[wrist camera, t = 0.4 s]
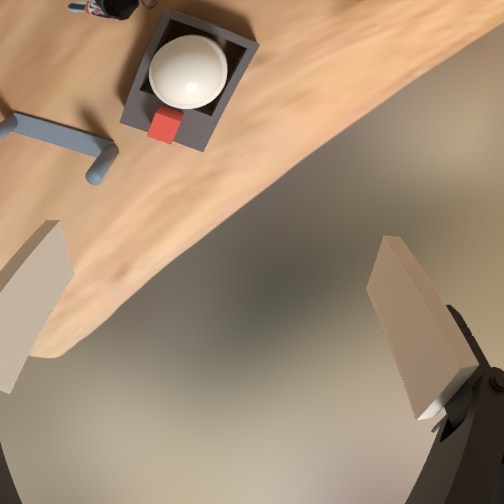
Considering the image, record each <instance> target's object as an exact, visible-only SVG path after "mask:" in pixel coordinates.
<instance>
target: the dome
mask: <svg viewBox="0 0 504 504" xmlns="http://www.w3.org/2000/svg"><path fill="white" fill-rule="evenodd" d="M226 78H227V58H226V55H225V53H224V51H223V49H222V48H221V46H220V45H219V44H218V43H217V42H215V41H214V40H212V39H211V38H209V37H206V36H203V35H197V34H191V35H184V36H181V37H179V38H177V39H174V40H172V41H170V42H168V43H167V44H165V45H164V46H163V47H162V48H160V49H159V50H158V52H157V53H156V54H155V56H154V57H153V59H152V61H151V64H150V69H149V80H150V84H151V87H152V89H153V91H154V93H155V94H156V95H157V97H158V98H159V99H160V100H162V101H163V102H164V103H166V104H168V105H170V106H172V107H176V108H180V109H193V108H198V107H201V106H203V105H206V104H208V103H209V102H211V101H212V100H213V99H215V98H216V97H217V96H218V95H219V93H220V92H221V90H222V89H223V87H224V85H225V82H226Z"/></svg>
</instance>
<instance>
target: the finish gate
mask: <svg viewBox="0 0 504 504" xmlns="http://www.w3.org/2000/svg"><path fill="white" fill-rule="evenodd" d="M11 131H12V132H15V133H19V134H22V135H26V136H29V137H32V138H36V139H39V140H42V141H46V142H49V143H52V144H55V145H59V146H62V147H65V148H68V149H71V150H75V151H78V152H81V153H84V154H87V155H90V156H93V157H96V158H97V159H96V160H95V161H94V163H93V164H92V166H91V167H90V168H89V170H88V171H87V173H86V180H87V181H88V182H89V183H90V184H92V185H98V184H100V183H101V181H102V180H103V178H104V176H105V175H106V173H107V171H108V170H109V168H110V166H111V165H112V163H113V162H114V160H115V158H116V157H117V155H118V153H119V150H118V147H117V146H116V145H114V141H111V140H108V139H105V138H102V137H99V136H95V135H92V134H89V133H86V132H83V131H79V130H76V129H73V128H70V127H66V126H63V125H59V124H56V123H53V122H49V121H46V120H42V119H39V118H35V117H32V116H28V115H24V114H21V113H17V112H14V113H13V114H12V115H10V116H9V117H7V118H6V119H5V120H3V121H2V122H1V123H0V140H1V139H3V138H4V137H5V136H6V135H7V134H9V133H10V132H11Z"/></svg>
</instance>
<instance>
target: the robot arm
mask: <svg viewBox="0 0 504 504" xmlns="http://www.w3.org/2000/svg"><path fill="white" fill-rule="evenodd" d="M73 275H74V272H73V268H72V265H71V261H70V258H69V254H68V250H67V246H66V242H65V238H64V234H63V230H62V226H61V222H60V220H46V221H45V222H44V223H43V224H42V225H41V226H40V227H39V228H38V229H37V230H36V231H35V232H34V234H33V235H32V236H31V237H30V238H29V239H28V240H27V241H26V242H25V243H24V244H23V246H22V247H21V248H20V249H19V250H18V251H17V252H16V254H15V255H14V256H13V257H12V258H11V259H10V261H9V262H8V263H7V264H6V265H5V266H4V268H3V269H2V270H1V271H0V390H1V391H3V392H6V393H9V394H10V393H11V391H12V388H13V386H14V384H15V382H16V380H17V377H18V375H19V373H20V371H21V369H22V367H23V365H24V363H25V361H26V359H27V357H28V355H29V353H30V351H31V349H32V347H33V345H34V343H35V341H36V339H37V337H38V335H39V334H40V332H41V330H42V328H43V326H44V324H45V323H46V321H47V319H48V317H49V315H50V314H51V312H52V310H53V308H54V307H55V305H56V303H57V302H58V300H59V298H60V296H61V295H62V293H63V292H64V290H65V288H66V287H67V285H68V283H69V282H70V280H71V279H72V277H73ZM366 290H367V292H368V294H369V297H370V299H371V301H372V304H373V306H374V308H375V311H376V313H377V316H378V318H379V320H380V323H381V325H382V328H383V330H384V333H385V335H386V338H387V340H388V343H389V345H390V348H391V350H392V353H393V356H394V358H395V361H396V364H397V366H398V369H399V372H400V375H401V377H402V380H403V383H404V385H405V388H406V391H407V394H408V397H409V400H410V403H411V406H412V409H413V412H414V415H415V418H416V420H421V419H426V418H430V417H434V416H436V415H437V414H438V413H439V412H440V410H441V409H442V408H443V407H444V408H445V410H446V413H447V414H446V415H445V416H444V417H443V419H442V420H441V421H440V422H439V423H437V424H436V426H435V427H434V428H433V429H432V432H435V431H436V430H437V429H438V428H439V427H440V428H439V430H438V433H437V435H436V438H435V441H434V443H433V446H432V448H431V450H430V453H429V455H428V457H427V460H426V463H425V464H424V466H423V469H422V471H421V473H420V475H419V477H418V479H417V482H416V483H415V485H414V487H413V489H412V491H411V493H410V495H409V497H408V499H407V501H406V503H405V504H504V371H502V370H501V369H499V368H496V367H490V365H489V364H488V361H487V360H486V358H485V356H484V354H483V352H482V351H481V349H480V347H479V345H478V343H477V342H476V340H475V338H474V336H472V333H471V332H470V329H469V328H468V327H467V324H466V323H465V321H464V320H463V318H462V316H461V315H460V314H459V313H458V312H457V311H456V310H455V309H454V308H453V307H452V306H451V305H445V303H444V302H443V300H442V299H441V297H440V295H439V294H438V292H437V291H436V289H435V288H434V286H433V285H432V283H431V281H430V280H429V279H428V277H427V275H426V274H425V272H424V271H423V269H422V268H421V266H420V265H419V263H418V262H417V261H416V259H415V258H414V256H413V255H412V254H411V252H410V250H409V249H408V248H407V247H406V245H405V243H404V242H403V241H402V239H401V238H400V237H395V236H384V237H383V240H382V243H381V246H380V249H379V252H378V256H377V259H376V262H375V265H374V268H373V271H372V274H371V277H370V280H369V283H368V286H367V288H366ZM0 504H22V502H21V500H20V498H19V495H18V493H17V491H16V488H15V485H14V483H13V480H12V477H11V474H10V472H9V469H8V466H7V463H6V460H5V457H4V454H3V450H2V447H1V443H0Z"/></svg>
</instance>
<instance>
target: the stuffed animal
mask: <svg viewBox="0 0 504 504" xmlns="http://www.w3.org/2000/svg"><path fill="white" fill-rule="evenodd" d="M141 1H142V3H143V4H144V5H145V6H146V7H147V8H151V7H153V6H156V5H157V3H158V1H157V0H141ZM138 6H139V0H95V1H87V2H75V3H71V4H69V6H68V9H69V11H71V12H86V13H90V14H93V15H97V16H100V17H105V18H112V19H118V20H126V19H128V18H129V17H130V15H131V14H132V13H133V11H134V10H135V9H136V8H137V7H138Z"/></svg>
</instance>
